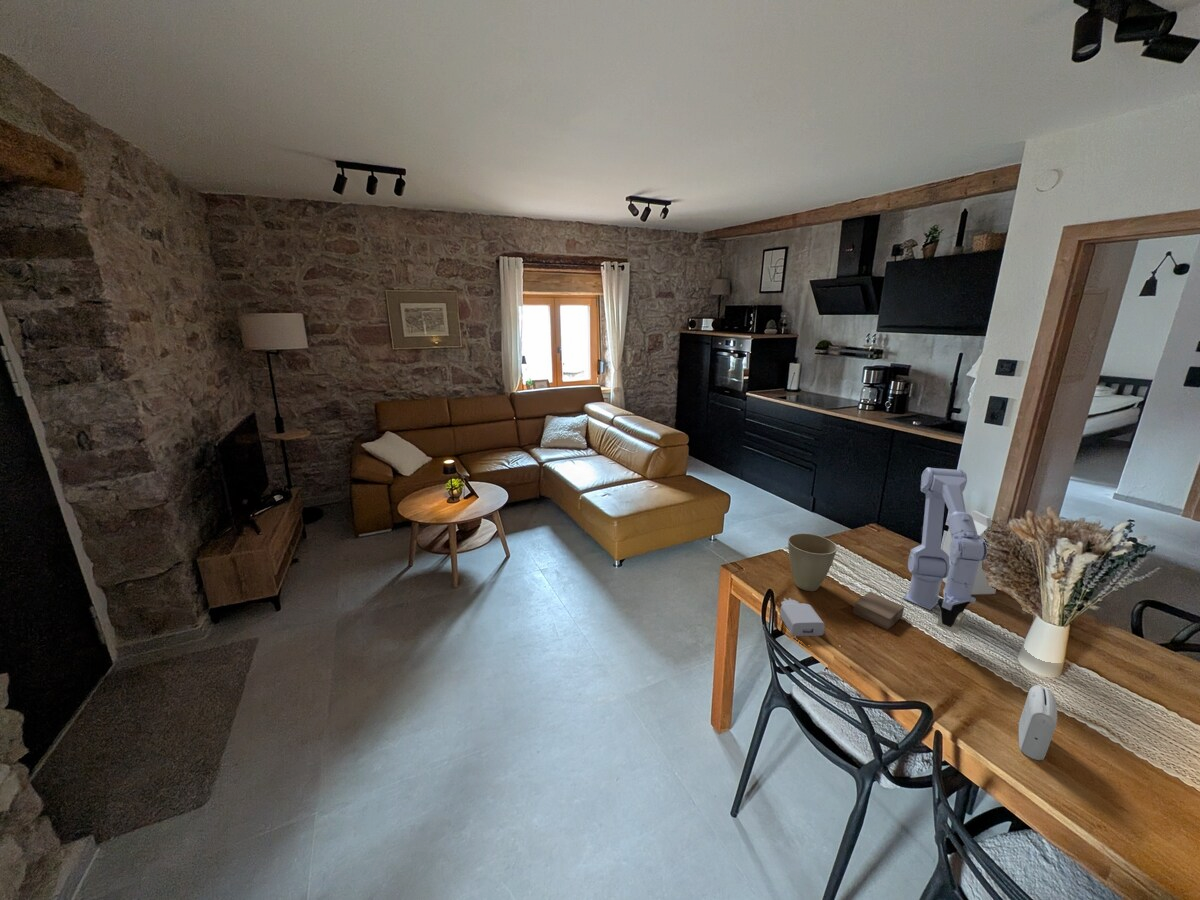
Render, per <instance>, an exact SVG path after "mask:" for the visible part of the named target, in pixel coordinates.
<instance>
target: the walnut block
mask: <svg viewBox="0 0 1200 900" xmlns="http://www.w3.org/2000/svg"><path fill="white" fill-rule="evenodd" d="M853 604H854V605H853V609H852V613H853V614H854V615H856V616H858V617H860V618H862V619H865V620H866V621H868V622H871V623H872V624H875V625H877V626H879V627H881V628H883V629H885V630H889V629H890V628H891V627H893V626H894V625H895V624H896V623H897V622H898V621H899V620H901V619H902V618H903V615H904V611H905V606H904V605H902V604H900V603H897V602H895V601H892V600H890V599H888V598H885V597H884V596H881V595H878V594H877V593H874V592H872V591H869V592H867V593H865V594H864V595H863V596H862V597H860V598H859V599H858V600H856V601H855V602H854V603H853Z"/></svg>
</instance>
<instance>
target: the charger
mask: <svg viewBox="0 0 1200 900" xmlns="http://www.w3.org/2000/svg"><path fill="white" fill-rule="evenodd" d="M780 604H781V606H780V611H779V617H780V618H781V620H782V622H783V623H784V624H785V627H786V628H787V630H788V631H789V633H790V635H791V636H793V637H812V636H813V637H817V636H818V637H820V636H823V635H824V631H825V626H826V625H825V622H824V621H823V619H821V617H820V616H819V615H818V612H817V611H815V609H814V608H813V606H812V605H810V604H808V603H800V602H799V601H797V600H795V599H792V598H791V597H789V598H788V599H786V598H785V597H784V598H783V601H781V602H780Z"/></svg>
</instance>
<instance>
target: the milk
mask: <svg viewBox="0 0 1200 900" xmlns="http://www.w3.org/2000/svg"><path fill="white" fill-rule="evenodd" d="M968 514H969V515H971V516H972V518H973V521H974V524H975V527H976V531H977V534H978V535H980V536H981V538H982V539H985V537H986V535H985V534H984V531H987V530H989V529H990V528H991V525H992V521H991V517H989V516H987V515H986V514H983V513H982V512H980V511H978V510H975V509H974V510H973V509H972V510H971V511H970V512H969V513H968ZM951 541H952V537H951V533H950V529H949V528H948V530H947V533H946V535H945V539H944V543H943V546H942V547H941V549H942V550H943V551H944V552H946V553H947V554H948V556H949V564H951V560H950V543H951ZM947 577H948V576H947ZM947 577H946V578H943V580H942V582H944V583H945V584H946V581H947ZM996 591H997V588H996V589H994V588H992V587H989V586H988V585H987V579H986V574H985V572H984V571H983V569H982V561H979V565H978V569H977V573H976V577H975V581H974V585H973V589H972V593H971V595H993V594H996Z"/></svg>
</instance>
